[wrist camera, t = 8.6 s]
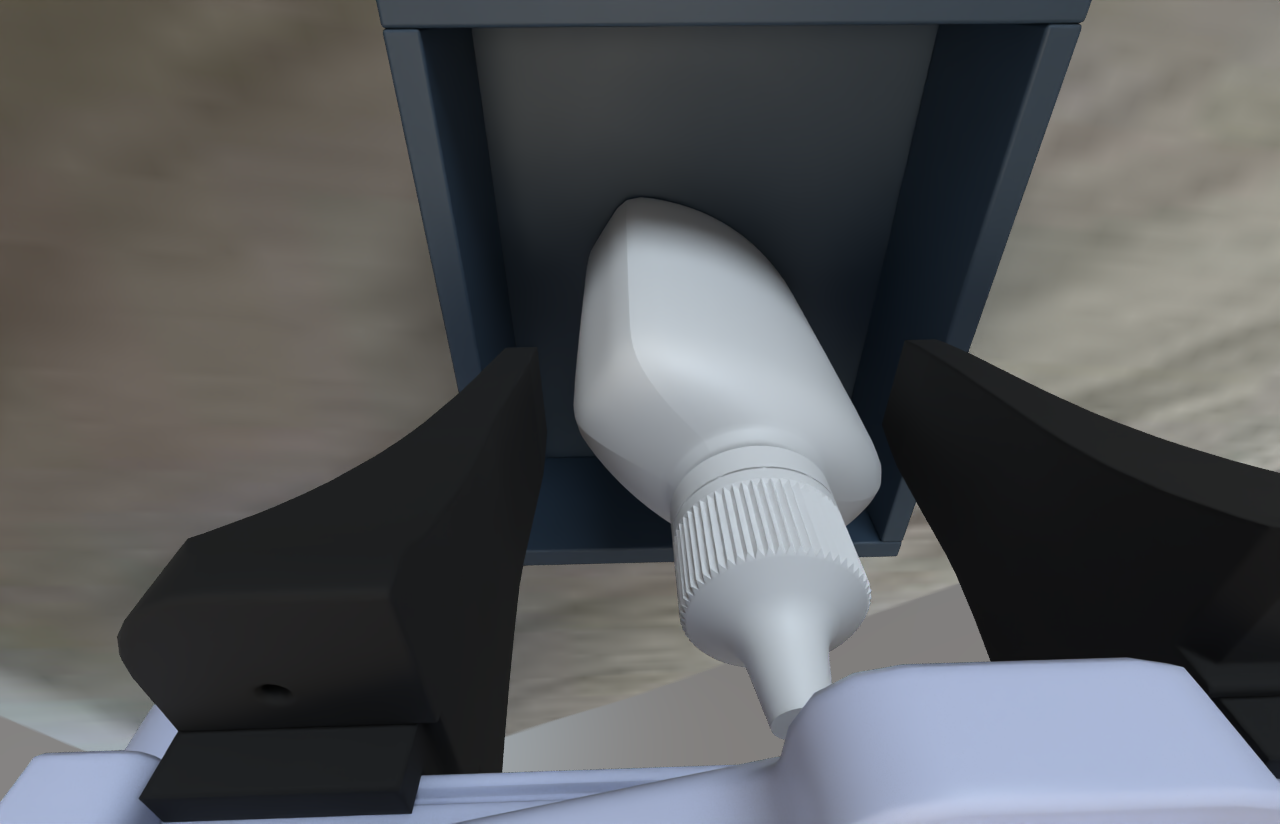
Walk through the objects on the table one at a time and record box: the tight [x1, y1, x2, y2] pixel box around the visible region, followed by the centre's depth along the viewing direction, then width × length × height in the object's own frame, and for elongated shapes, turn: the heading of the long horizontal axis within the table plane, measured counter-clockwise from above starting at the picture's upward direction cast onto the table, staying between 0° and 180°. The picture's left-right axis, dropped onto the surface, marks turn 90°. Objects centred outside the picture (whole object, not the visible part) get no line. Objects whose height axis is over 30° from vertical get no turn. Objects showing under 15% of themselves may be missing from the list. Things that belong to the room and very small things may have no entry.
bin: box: [376, 0, 1092, 566], centre depth 15 cm, size 13×11×4 cm
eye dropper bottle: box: [573, 197, 881, 739], centre depth 11 cm, size 4×6×12 cm
